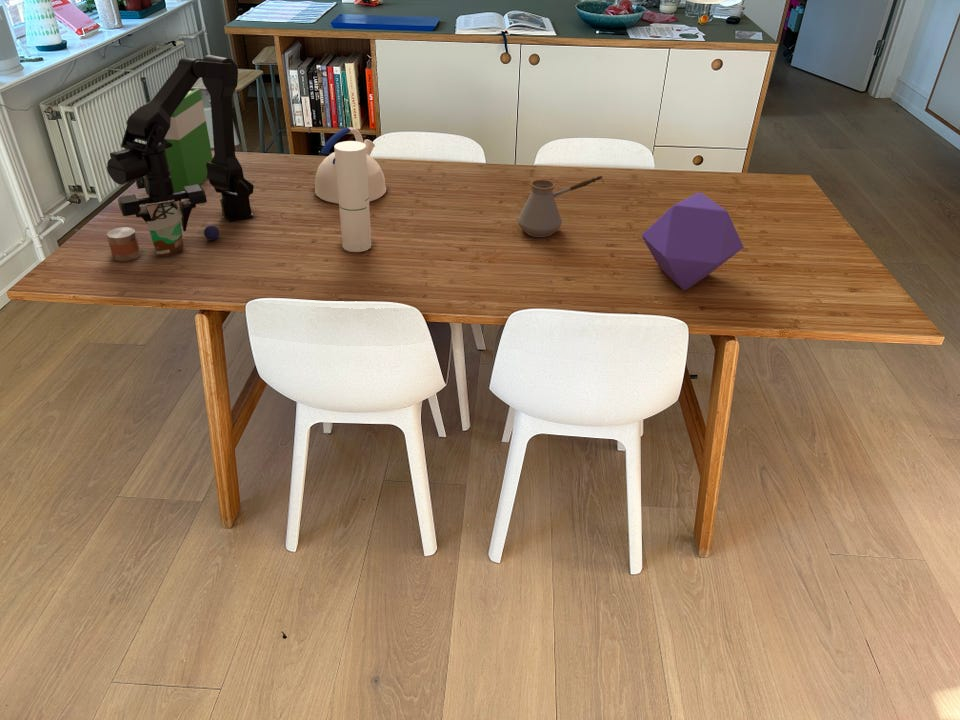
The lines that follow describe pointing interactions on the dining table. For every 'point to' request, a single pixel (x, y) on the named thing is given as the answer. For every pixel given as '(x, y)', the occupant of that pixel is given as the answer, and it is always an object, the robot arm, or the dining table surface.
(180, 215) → the food container
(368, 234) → the cylindrical container
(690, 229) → the purple faceted block
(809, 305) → the dining table surface
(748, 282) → the dining table surface
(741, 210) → the dining table surface
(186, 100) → the hardback book
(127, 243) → the tin can
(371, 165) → the kettle
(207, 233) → the blue ball
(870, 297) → the dining table surface
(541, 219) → the coffee pot
